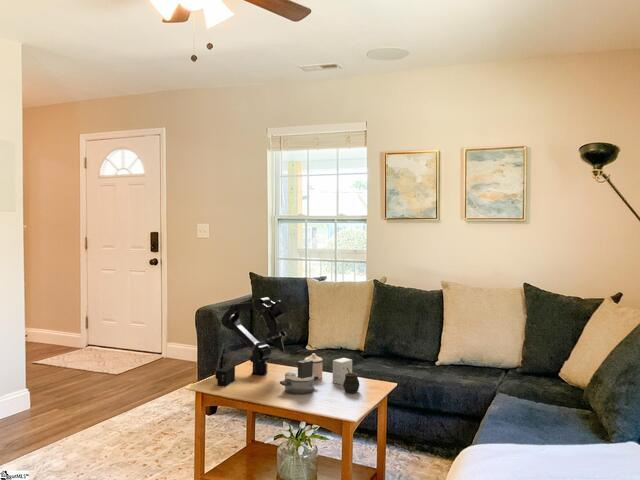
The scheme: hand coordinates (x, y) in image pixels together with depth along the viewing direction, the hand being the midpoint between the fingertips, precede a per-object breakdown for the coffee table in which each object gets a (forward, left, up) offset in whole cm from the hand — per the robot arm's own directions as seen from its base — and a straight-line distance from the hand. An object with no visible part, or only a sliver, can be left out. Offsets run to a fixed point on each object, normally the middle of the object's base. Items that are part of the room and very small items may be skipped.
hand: (283, 351), depth 262 cm
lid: (+12, -15, -7) cm, 21 cm away
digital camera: (-24, -13, -13) cm, 31 cm away
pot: (+12, -15, -13) cm, 23 cm away
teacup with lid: (+12, +6, -13) cm, 19 cm away
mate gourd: (+34, -12, -13) cm, 39 cm away
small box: (+28, +2, -13) cm, 31 cm away
